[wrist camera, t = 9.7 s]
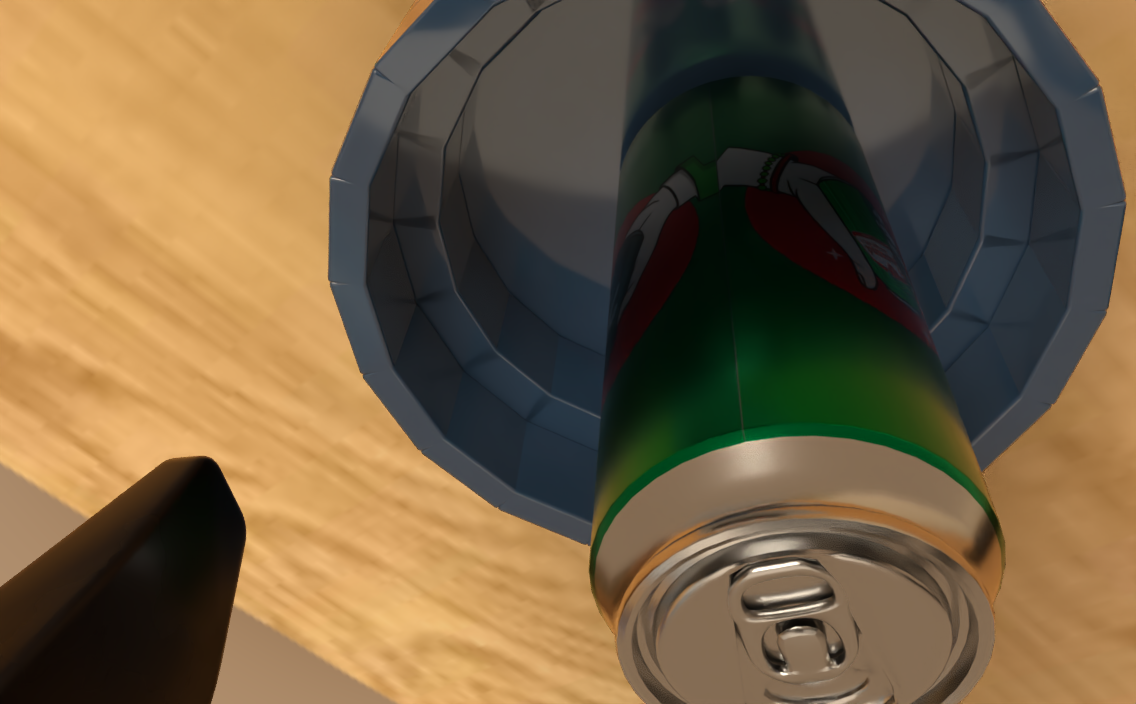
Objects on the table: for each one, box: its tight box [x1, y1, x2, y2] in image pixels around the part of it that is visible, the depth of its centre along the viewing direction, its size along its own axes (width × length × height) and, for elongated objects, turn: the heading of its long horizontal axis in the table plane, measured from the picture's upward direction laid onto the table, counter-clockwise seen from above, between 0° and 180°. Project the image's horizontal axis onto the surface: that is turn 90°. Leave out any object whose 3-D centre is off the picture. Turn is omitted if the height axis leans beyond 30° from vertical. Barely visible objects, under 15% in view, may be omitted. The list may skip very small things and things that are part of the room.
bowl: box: [328, 0, 1126, 546], centre depth 20 cm, size 13×13×5 cm
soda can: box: [589, 76, 1006, 704], centre depth 17 cm, size 5×5×12 cm
